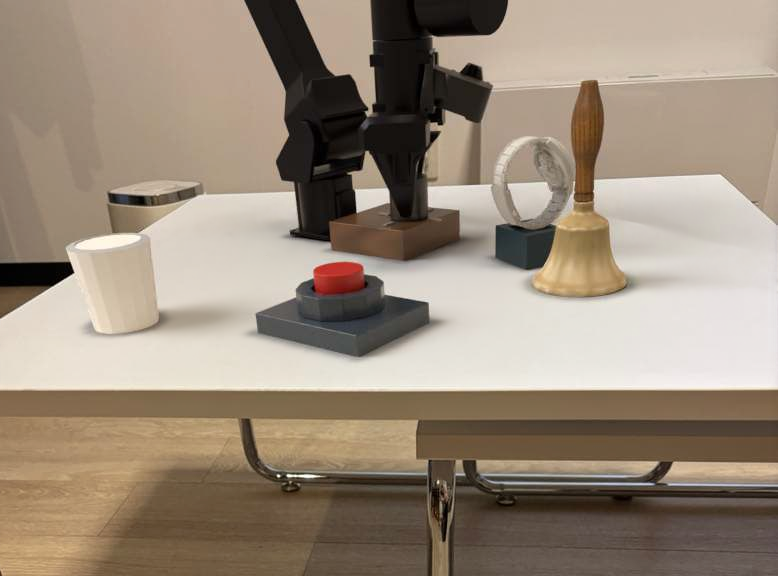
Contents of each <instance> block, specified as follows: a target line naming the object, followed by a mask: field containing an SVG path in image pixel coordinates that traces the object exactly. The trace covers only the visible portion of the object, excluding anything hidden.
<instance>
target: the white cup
mask: <svg viewBox="0 0 778 576" xmlns="http://www.w3.org/2000/svg"><path fill="white" fill-rule="evenodd" d="M65 250H66V252H67V256H68V258H69V262H70V264H71V267H72V270H73V272H74V276H75V278H76V281H77V284H78V287H79V290H80V292H81V296H82V298H83V301H84V304H85V306H86V309H87V311H88V314H89V317H90V321H91V324H92V326H93V328H94V330H95V332H98V333H101V334H109V335H117V334H118V335H119V334H127V333H133V332H138V331H141V330H144V329H147V328H150V327H152V326H153V325H155V324H158V321H159V320H160V315H159V307H158V298H157V297H158V296H157V289H156V279H155V272H154V263H153V262H154V261H153V256H152V255H153V254H152V245H151V237H149V235H148V234H145V233H140V232H115V233H105V234H100V235H93V236H90V237H86V238H81V239H79V240H76V241H73V242H71V243H69V244H68V245H67V246H66V247H65Z"/></svg>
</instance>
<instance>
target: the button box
mask: <svg viewBox="0 0 778 576" xmlns="http://www.w3.org/2000/svg"><path fill="white" fill-rule="evenodd" d="M364 282H365V288H364V289H362V290H359V291H357V292H351V293H345V294H322V293H316V292H315V285H314V277H313V278H311V279H308V280H305V281H302V282H300V283H299V285H298V286H296V287H295V297H293V298H291V299H288V300H286V301H283V302H281V303H277V304H274V305H273V306H271V307H270V306H269V307H268V308H265V309H263V310H260V311H258V312H256V313H254V315H255V322H256V329H257V333H258V334H262V335H265V336H270V337H272V338H278V339H281V340H285V341H289V342H290V341H291V342H294V343H298V344H302V345H307V346H311V347H315V348H320V349H322V350H326V351H327V350H328V351H332V352H336V353H340V354H345V355H348V356H351V357H356V358H359V357H362V356H365V355H366V354H368V353H370V352H372V351H374V350H376V349H378V348H380V347H382V346H384V345H386V344H389V343H391V342H392V341H395V340H397V339H398V338H400V337H403V336H405V335H406V334H409V333H411V332H413V331H415V330H417V329H419V328H421V327H423V326H425V325H427V324H429V323H430V303H429V301H428V302H427V301H424V300H417V299H412V298H405V297H400V296H394V295H390V294H385V281H384V280H382V279H381V278H379V277H378V276H376V275H371V274H365V273H364Z"/></svg>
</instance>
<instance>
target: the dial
mask: <svg viewBox="0 0 778 576" xmlns="http://www.w3.org/2000/svg"><path fill="white" fill-rule="evenodd" d="M428 183H429V182H428V174H426V173H424V172H423V173H417V178H416V186H415V194H414V202H413V209H412V215H411V217H401V216H400V214H399V212H398V210H397V208H396V205H395V203H394V201H393V199H392V197H391V195H390V192H389V191H388V195H389V203H390V218H391V219H392V220H396V221H416V220H421V219H424V218H427V217H428V207H429V190H428V187H429V186H428Z"/></svg>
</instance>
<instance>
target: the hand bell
mask: <svg viewBox="0 0 778 576" xmlns="http://www.w3.org/2000/svg"><path fill="white" fill-rule="evenodd" d="M604 128H605V112H604V105H603V100H602V98H601V92H600V87H599V82H598V80H597V79H589V80H587V79H586V80H582V81H581V83H580V87H579V92H578V95H577V98H576V101H575V104H574V107H573V109H572V115H571V123H570V142H571V149H572V154H573V159H574V163H575V166H576V175H575V181H574V186H573V200H574V201H573V207H572V211H571V212H570V213H569V214H566V216H564V217H561V218H560V219H559V220H557V222H556V225H555V226H556V230H555V236H554V241H553V245H552V249H551V252H550V255H549V257H548V259H547V261H546V263H545V264H544V266H542V267H541V269H539V271H537V272H536V273H535V274H534V275H533V278H532V280H531V286H532V287H533V288H534V289H535V290H536V291H538V292H540V293H543V294H546V295H551V296H555V297H556V296H557V297H563V298H590V297H591V298H592V297H599V296H606V295H610V294H613V293H616V292H619V291H620V290H622V289H624V288H625V287H626V286H627V284H628V279H627V277H626V274H625V273H624V271H623V270H622V269H620V268H619V266H618V264H617V263H616V261H615V258H614V255H613V250H612V246H611V235H610V222H609V219H608V218H607V217H605V216H603V215H601V214H599V213H598V212H596V210H595V192H594V191H595V169H596V162H597V159H598V156H599V153H600V150H601V147H602V142H603V138H604V137H603V136H604V130H605V129H604Z"/></svg>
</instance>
